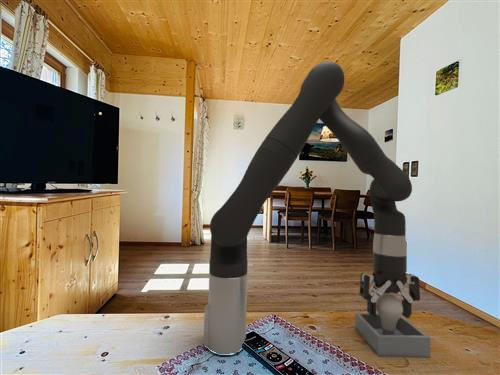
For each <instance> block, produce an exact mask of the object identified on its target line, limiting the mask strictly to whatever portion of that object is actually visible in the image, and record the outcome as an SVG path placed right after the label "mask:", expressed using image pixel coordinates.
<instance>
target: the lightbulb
mask: <svg viewBox="0 0 500 375" xmlns="http://www.w3.org/2000/svg"><path fill="white" fill-rule="evenodd" d="M375 302H376V312H377V313H379V315H380V318H381V323H382V327H383V335H394V331H395V329H396V324H397V321H398V320H399V318H400V317H401V316H403V315H402V313H403V306H402V301H401V300H400V299H399V298H398V297H397V296H395V295H393V294H390V293H383V294H382V295H381V296H379V297H378V299H377V300H376V301H375Z"/></svg>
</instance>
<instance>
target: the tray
mask: <svg viewBox="0 0 500 375" xmlns="http://www.w3.org/2000/svg"><path fill="white" fill-rule="evenodd" d="M354 315H355V322H354V323H355V325H354V326H355V328H354V330H355V331H356V332H357V333H358V334H359V335H360V336H361V338H362V339H363V340H364V341H365V342H366V343H367V345H368V346H369V347H370V348H371V349H372V351H373V352H374V353H375V354H376V355H377V357H383V358H384V357H387V358H388V357H389V358H391V357H392V358H399V357H400V358H431V337H430V336H428V334H426V333H425V332H424V331H422V330H420V329H419V327H417V326H416V325H414V324H413V323H411V321H409V320H408V319H407V318H406V317H404V316H403V315H401V317H400V318H399V320H398V321H397V324H396V329H395V331H394V335H383V327H382V323H381V318H380V315H379V313H378V312H376V317H372V316H371V315H370V314H369V313H368V312H355V314H354Z"/></svg>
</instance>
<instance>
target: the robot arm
mask: <svg viewBox="0 0 500 375" xmlns="http://www.w3.org/2000/svg"><path fill="white" fill-rule="evenodd" d="M344 86H345V73H344V70H343V69H342V67H341V65H339V64H338V63H336V62H335V61H323V62H320V63H318V64H317V65H315V66H314V67H312V68H311V70H310V71H309V72H308V74H307V75H306V76H305V78H304V81H303V82H302V83H301V86H300V91H299V93H298V95H297V97H296V98H295V100H294V101H293V103H292V104H291V106H289V108H288V109H287V110H286V111H285V113H284V114H283V115H282V116H281V118H279V120H278V121H277V122H276V124H275V125H274V126H273V127H272V129H271V130H270V131H269V133H268V134H267V135H266V136H265V138H264V139H263V141H262V143H261V144H260V146H259V147H258V149H257V150H256V151H255V154H254V155H253V157H252V158H251V160H250V162H249V164H248V165H247V168H246V170H245V172H244V175H243V177H242V179H241V181H240V182H239V184H238V186H237V187H236V189H235V190H234V191H233V192H232V194H231V195H230V196H229V198H228V199H227V200H226V201H225V202H224V204H222V206H221V207H220V208H219V209H218V210H217V211H216V212H214V214H213V216H212V218H211V219H210V222H209V230H210V231H209V232H210V235H211V237H210V254H209V264H208V265H209V267H208V268H209V269H208V270H209V271H208V272H209V274H208V275H209V276H208V279H209V280H208V303H207V304H206V305H205V306H204V318H203V319H204V320H203V321H204V322H203V326H204V327H203V347H204V346H206V347H208V348H209V349H210V350H212V351H214V352H216V353H222V354H230V353H234V352H237V351H239V350H240V349H241V348H242V344H243V342H244V341H245V339H246V338H247V303H248V302H247V298H248V265H249V264H248V235H249V233H250V230H251V229H252V226H253V224H254V223H255V221H256V219H257V217H258V215H259V213H260V211H261V210H262V207H263V206H264V204H265V203H266V202H267V199H268V198H269V197H270V196H271V195H272V193H273V192H274V191H275V190H276V188H277V187H278V186H279V185H280V183H281V182H282V180H283V179H284V178H285V176H286V175H287V174H288V172H289V171H290V169H291V168H292V166H293V164H294V163H295V161H296V160H297V159H298V157H299V155H300V153H301V151H302V150H303V148H304V147H305V145H306V143H307V142H308V140H309V138H310V136H311V134H312V132H313V130H314V128H315V127H316V124H317V123H318V122H319V121H320V122H322V124H323V125H324V126H325V127H326V128H327V129H328V130H329V131H330V132H331V133H332V135H333V136H334V137H335V138H336V139H337V141H338V142H339V143H340V144H341V146H342V147H343V148H344V150H345V151H346V152H347V154H348V156H350V158H351V160H352V161H353V163H354V164H355V165H356V167H357V168H358V170H359V171H360V172H361V173H362V174H364V175H365V174H366V175H369V176H371V177H372V180H371V183H370V186H369V191H368V192H369V193H368V194H369V200H370V204H371V208H372V213H373V215H374V227H373V228H374V230H373V232H374V235H373V240H372V241H373V242H372V245H373V246H372V261H373V262H372V267H373V271H372V274H366V273H365V272H361V273H360V280H359V293H358V294H359V296H361V297H362V298H363V299H364V300H365V301H366V311H367V313H369V314H370V315H371V316H372V317H376V313H377V309H376V300H377V299H378V297H379V296H381V295H383V294H390V293H392V294H399V295H400V297H401V298H402V299H401V304H402V306H403V313H402V315H401V316H402V317H404V318H405V319H409V318H410V317H411V316H412V314H413V313H412V312H413V310H412V305H413V303H414V302H415V301H418V302H419V301H420V300H421V290H420V278H419V277H418V276H416V275H415V274H412V273H409V274H408V275H407V274H406V273H407V272H408V270H407V268H408V267H407V264H408V263H407V260H408V259H407V256H408V254H407V253H408V252H407V251H408V248H407V246H408V245H407V238H406V237H407V236H406V229H407V228H406V222H407V221H406V217H405V214H404V213H403V212H401V211H399V210H398V209H397V203H396V202H402V201H405V200H407V199H409V197H410V196H411V194H412V193H413V184H412V182H411V180H410V177H409V176H408V175H407V173H406V172H405V171H404V170H403V169H401V167H400V166H398V165H397V164H396V163H395V162H394V161H393V160H392V159H390V158H389V157H388V156H387V155H386V154H385V152H384V151H383V149H382V148H381V146H380V144H378V142H377V140H376V139H375V138H374V137H373V135H372V134H371V133H370V132H369V131H368V130H367V129H365V128H364V127H363V126H362V125H360V124H359V123H358V122H356V121H355V120H353V119H352V118H351V117H349V115H347V114H346V113H345V112H344V110H343V109H342V108H341V107H340V105H339V103H338V101H337V97H339V95H340V94H341V92H342V91H343V89H344ZM372 281H373V284H372ZM406 283H407V284H408V290H407V289H406V287H405V284H406ZM370 284H372V285H371V286H370Z"/></svg>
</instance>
